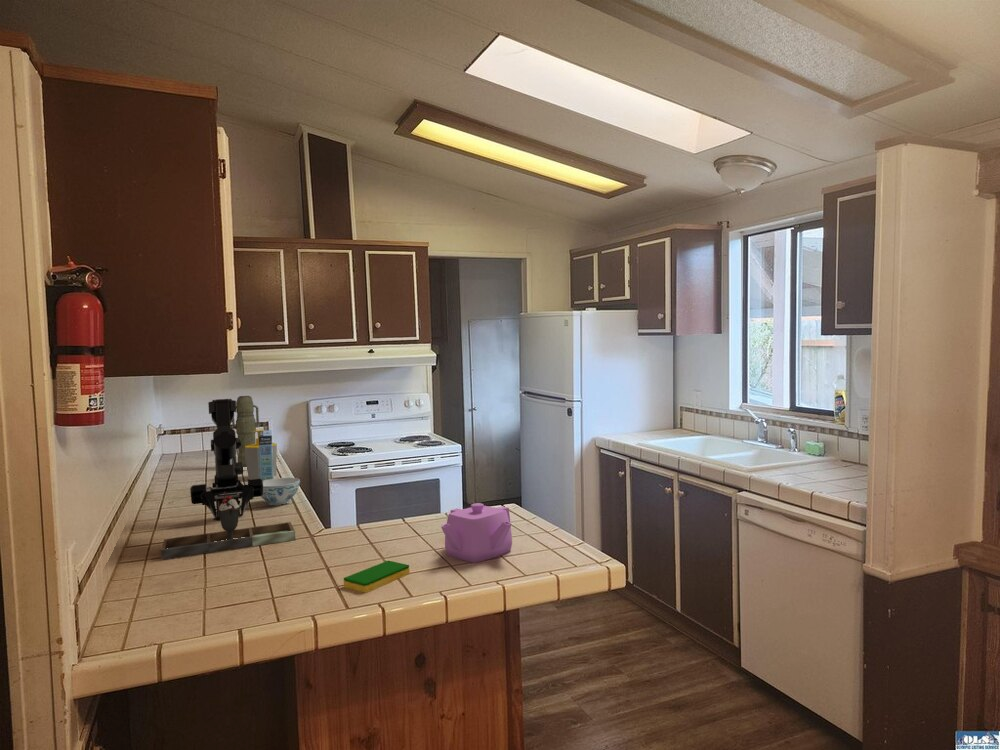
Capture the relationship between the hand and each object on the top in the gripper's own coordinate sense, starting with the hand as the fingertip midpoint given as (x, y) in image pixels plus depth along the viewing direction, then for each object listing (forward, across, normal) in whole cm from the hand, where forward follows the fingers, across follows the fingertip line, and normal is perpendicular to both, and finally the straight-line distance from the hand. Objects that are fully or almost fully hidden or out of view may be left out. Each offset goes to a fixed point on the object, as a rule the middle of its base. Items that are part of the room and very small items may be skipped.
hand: (229, 516), depth 174 cm
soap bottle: (-68, +15, +80) cm, 107 cm away
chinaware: (-28, +17, +40) cm, 52 cm away
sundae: (+5, 0, +7) cm, 8 cm away
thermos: (-92, +11, +104) cm, 139 cm away
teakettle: (+36, +57, -24) cm, 71 cm away
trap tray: (+5, 0, +7) cm, 8 cm away
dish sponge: (+40, +29, -28) cm, 57 cm away
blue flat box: (-47, +15, +59) cm, 76 cm away
